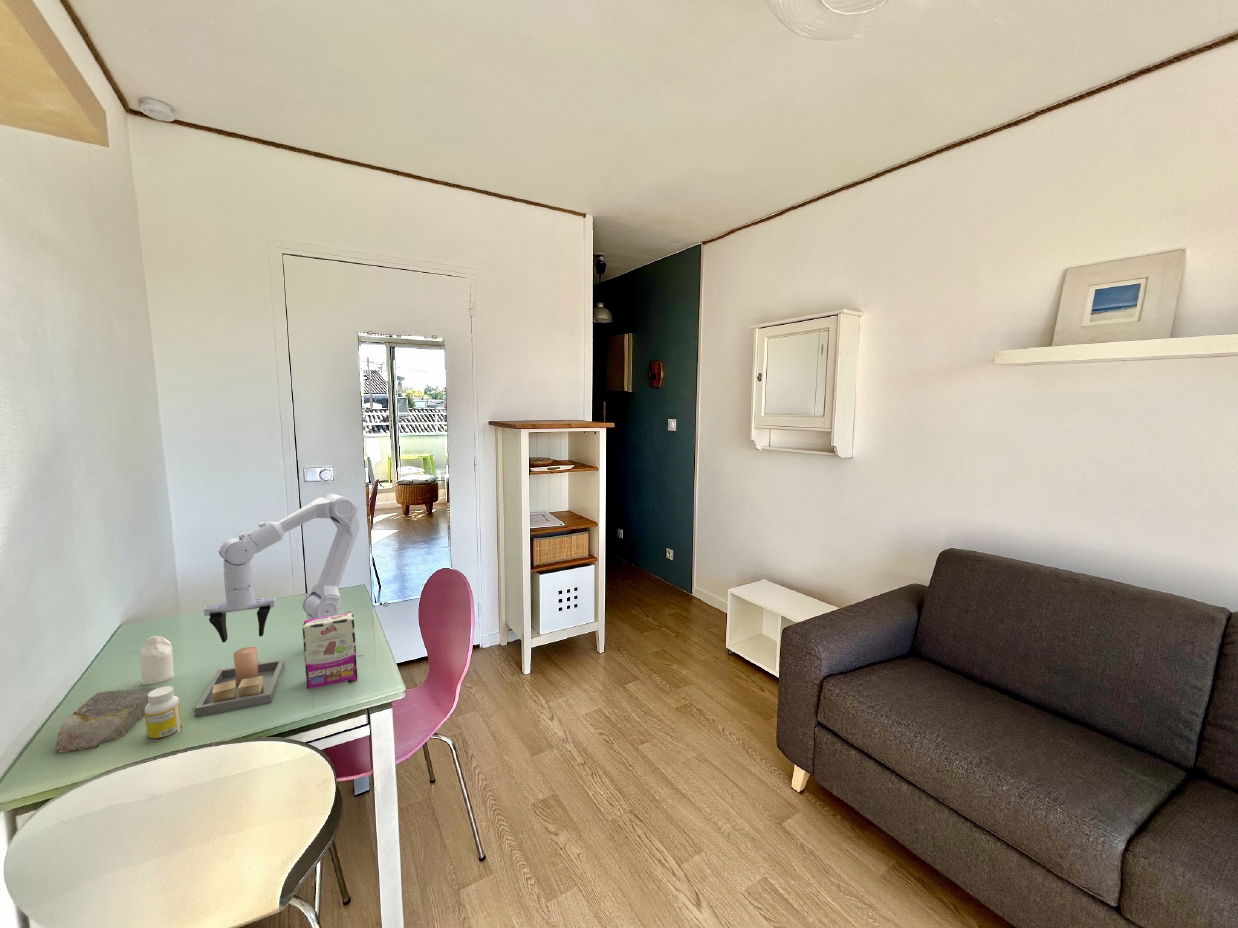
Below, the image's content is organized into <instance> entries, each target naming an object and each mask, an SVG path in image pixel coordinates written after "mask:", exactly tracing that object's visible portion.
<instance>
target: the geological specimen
mask: <svg viewBox="0 0 1238 928" xmlns="http://www.w3.org/2000/svg"><path fill="white" fill-rule="evenodd" d="M155 689H156V687H142V688H134V689H118V690H114V691H113V690H112V691H110V690H108V691H99V692H97V693H95V694H94V695H93V696H92V697H90V698H89V699H88V700H87V701H85V703H84V704H82V705H81V706H79V707H78V709H76V710H74V711H73V713H72V714H69V715H68V716H67V717H66V719H65V721H64V722H63V723H62V724H61V727H60V729H59V730H60V731H58V733H57V741H56V743H55V745H56V747H55V750H54V753H55V752H58V753H60V752H65V753H70V752H75V751H81V752H82V751H84V750H87V749H94V748H95V749H96V748H98V747H99V746H100V745H101V743H104V742H108V741H110V740H111V741H112V740H115V739H118V738H120V737H125V735H126V734H128V732H129V731H130V730H131V729H133V727H135V726H136V725H137V724H138V722H139V721H141V720H142V719H143V718H144V717H145V707H146V705H147V704H148V703H149V702H148V694H149V693H150V692H151V691H153V690H155ZM59 751H60V752H59Z"/></svg>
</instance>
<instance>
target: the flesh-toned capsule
mask: <svg viewBox="0 0 1238 928" xmlns="http://www.w3.org/2000/svg"><path fill="white" fill-rule="evenodd" d="M233 662H234V663H233V665H234V667H235V679H236V686H237V687H239V685H240V683H241V681H242V679H247V678H253V677H259V674H258V662H259V661H258V649H257V647H255V646H247V647H243V648H239V649H236V651H234V652H233Z"/></svg>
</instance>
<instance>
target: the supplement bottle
mask: <svg viewBox="0 0 1238 928" xmlns="http://www.w3.org/2000/svg"><path fill="white" fill-rule="evenodd" d="M174 694H175V692H174V687H173V686H172V685H171V686H170V685H169V686H168V685H167V686H161V687H158V688H155V690H153V691H151V692H150V693H149V694H148V702H149V703H148V704H147V705H146V707H145V715H144V717H145V718H144V719H145V725H146V733H147V739H148V741H153V742H157V741H162V740H166V739H168V738H171V737H173V736H176V735H177V734H178V733H180V731H181V730H182V729H183V722H182V714H181V705H180V699H179V697H178V696H177V695H174Z"/></svg>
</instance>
